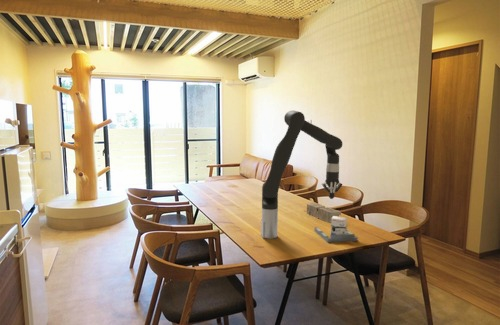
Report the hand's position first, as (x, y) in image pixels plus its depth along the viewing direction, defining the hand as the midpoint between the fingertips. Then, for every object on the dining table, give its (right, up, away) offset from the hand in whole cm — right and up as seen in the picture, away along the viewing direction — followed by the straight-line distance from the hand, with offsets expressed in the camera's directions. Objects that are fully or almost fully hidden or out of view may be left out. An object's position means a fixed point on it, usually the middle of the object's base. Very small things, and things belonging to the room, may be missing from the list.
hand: (331, 198), depth 205 cm
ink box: (+2, -22, -8) cm, 24 cm away
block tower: (+1, -17, +31) cm, 36 cm away
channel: (+1, -22, -6) cm, 22 cm away
